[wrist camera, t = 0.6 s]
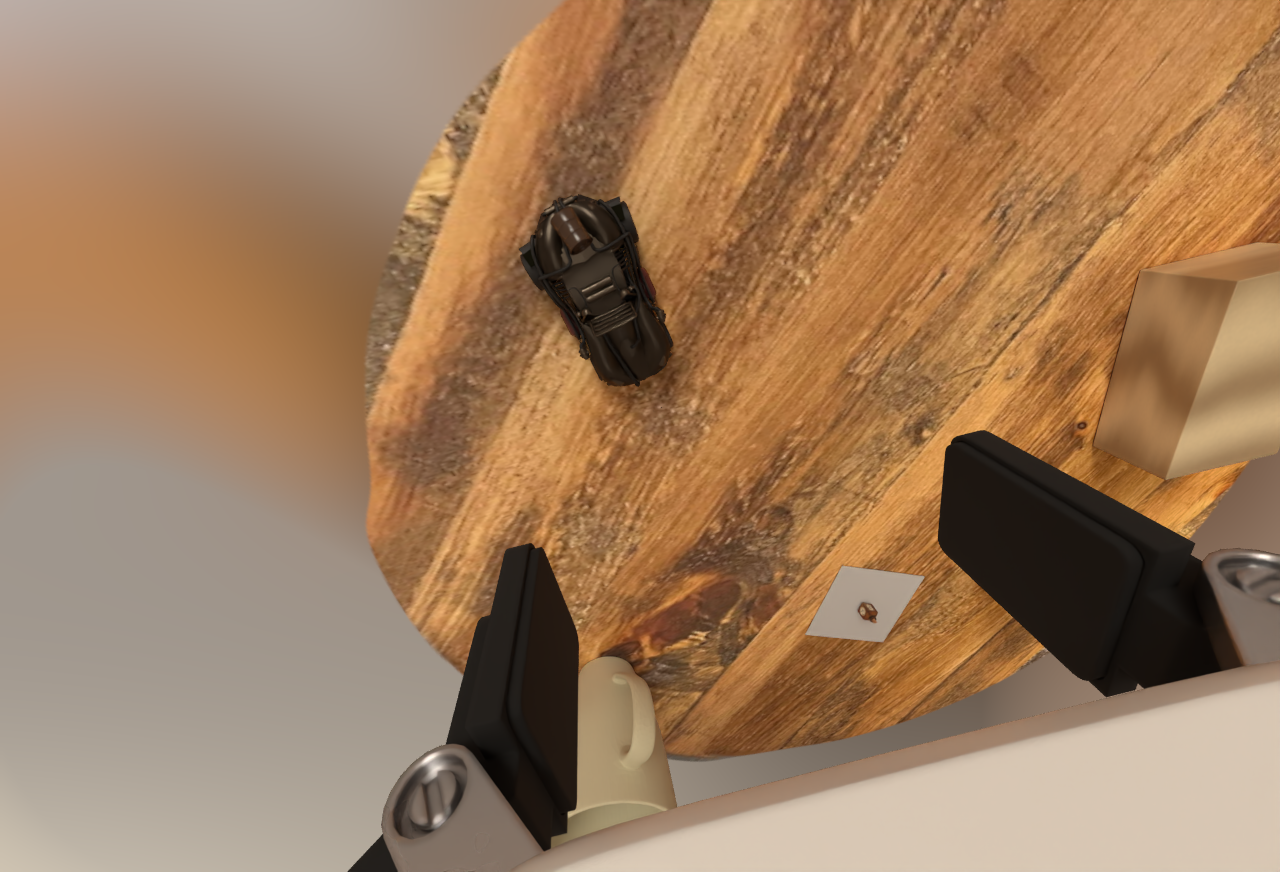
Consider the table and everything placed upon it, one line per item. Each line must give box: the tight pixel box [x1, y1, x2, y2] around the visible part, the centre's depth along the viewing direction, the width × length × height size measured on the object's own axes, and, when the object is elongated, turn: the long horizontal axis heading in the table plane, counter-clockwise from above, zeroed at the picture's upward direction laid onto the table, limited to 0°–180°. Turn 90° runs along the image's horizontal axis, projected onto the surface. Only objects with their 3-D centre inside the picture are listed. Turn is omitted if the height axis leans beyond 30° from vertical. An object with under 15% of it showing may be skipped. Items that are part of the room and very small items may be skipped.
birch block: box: [1093, 243, 1280, 480], centre depth 30 cm, size 13×8×5 cm, turn 12°
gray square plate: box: [805, 566, 925, 642], centre depth 40 cm, size 8×8×2 cm
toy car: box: [519, 194, 673, 408], centre depth 25 cm, size 6×12×4 cm, turn 25°
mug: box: [551, 657, 677, 848], centre depth 35 cm, size 11×10×12 cm
